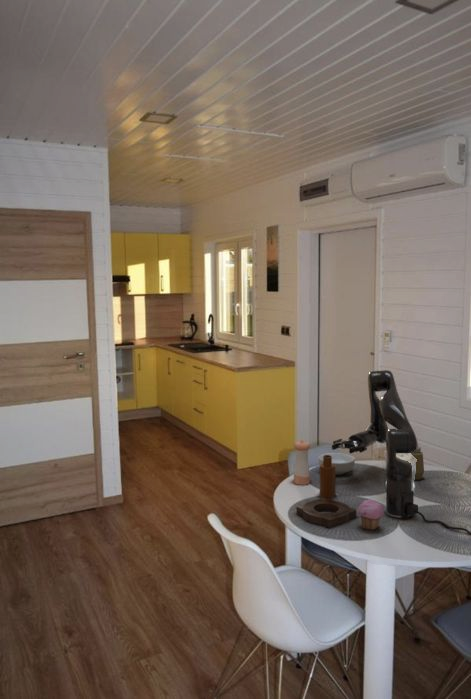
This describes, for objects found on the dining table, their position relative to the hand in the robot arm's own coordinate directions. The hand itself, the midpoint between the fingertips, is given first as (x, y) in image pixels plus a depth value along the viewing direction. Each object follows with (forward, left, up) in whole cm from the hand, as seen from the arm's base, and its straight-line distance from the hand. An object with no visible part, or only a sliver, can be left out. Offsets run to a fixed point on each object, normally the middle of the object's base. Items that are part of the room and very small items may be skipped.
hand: (341, 449), depth 247 cm
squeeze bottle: (-13, -35, -18) cm, 41 cm away
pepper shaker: (+17, +7, -18) cm, 25 cm away
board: (-16, +27, -17) cm, 36 cm away
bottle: (-2, +11, -17) cm, 21 cm away
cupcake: (-34, +23, -18) cm, 45 cm away
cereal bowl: (+16, -15, -18) cm, 28 cm away
